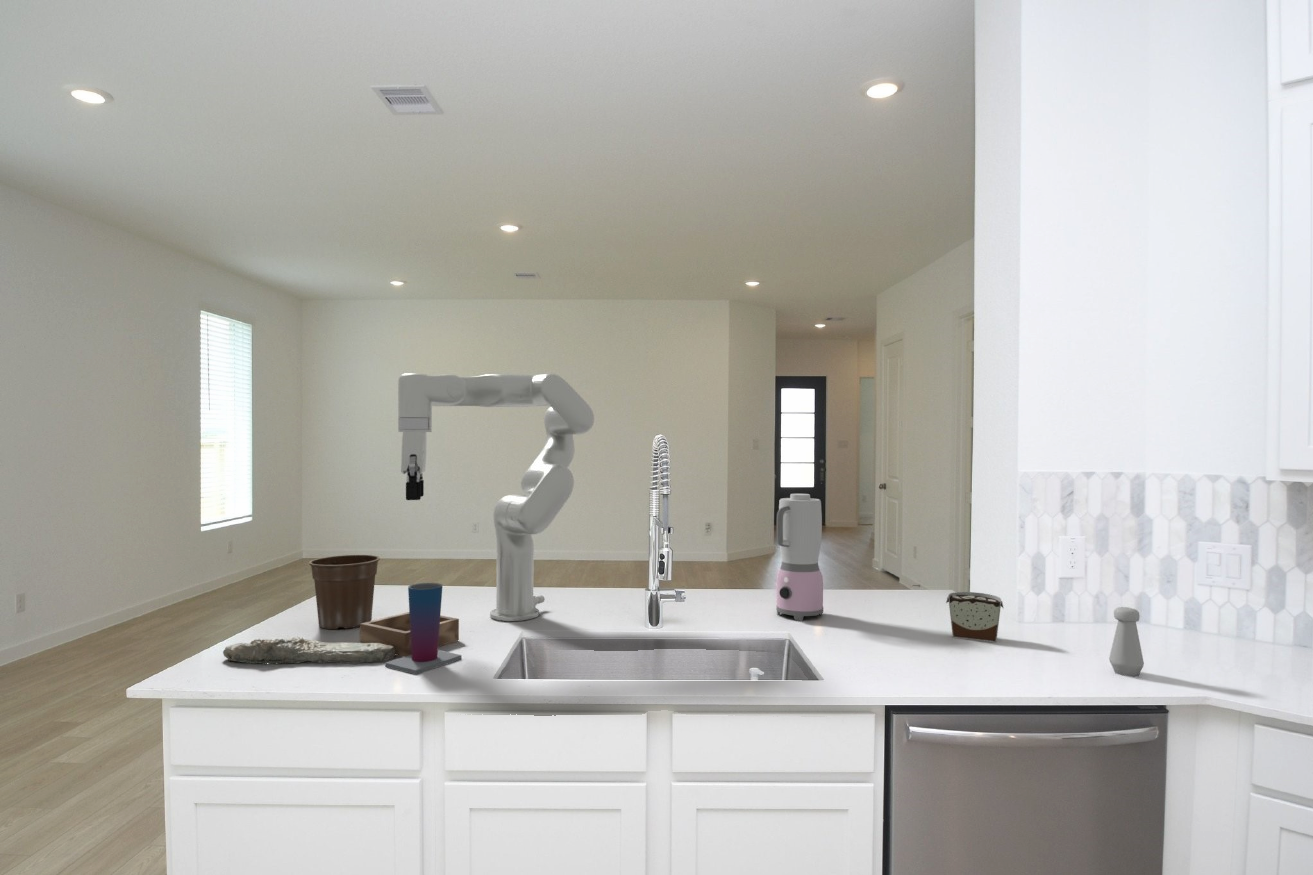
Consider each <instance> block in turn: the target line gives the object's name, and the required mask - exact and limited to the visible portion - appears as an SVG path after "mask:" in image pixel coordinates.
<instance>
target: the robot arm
mask: <svg viewBox="0 0 1313 875" xmlns="http://www.w3.org/2000/svg"><path fill="white" fill-rule="evenodd" d="M397 389H398V390H397V391H398V392H397V393H398V394H397V395H398V396H397V397H398V398H397V401H398V402H397V406H398V407H397V408H398V409H397V410H398V412H397V414H398V416H397V421H398V422H397V427H398V428H397V429H398V431H397V433H402V437H401V464H400V465H401V466H400V467H401V468H400V472H401V474H403V475H405V474H406V482H405V500H406V501H420V500H421V497H422V498H423V496H424V495H425V494H424V489H425V487H424V483H425V482H424V472H425V471H426V463H427V462H426V461H427V433H432V429H433V427H432V414H433V413H432V412H433V411H432V410H433V409H432V408H433V407H481V408H511V407H512V408H515V407H516V408H520V407H521V408H522V407H523V408H524V407H527V408H529V407H534V408H535V407H536V408H537V407H548V408H547V410H546V411H545V413H544V418H543V423H544V427H545V433H546V434H545V435H546V441H545V444H544V446H543V447H542V449H541V451H540V452H539V454H538V455H537V456H536V457H535V459H534V461H532V463H531V464H530V466H529V467H528V468H527V469H526V470H525V472H524V473H523V475H522V478H521V481H520V487H521V490H522V491H523V493H524V494H525V495H522V494H508V495H504V496H503V497H501V498H500V499H499V500H498V501H497V502H496V504H495V506H494V509H493V515H492V516H493V524H494V529H495V537H496V538H495V540H496V596H495V598H496V600H495V601H496V604H495V607H496V608H495V609H493V610H492V609H491V611H490V613H489V616H490V618H491V619H493V620H496V621H501V620H502V622H503V621H505V622H518V621H520V622H521V621H526V620H532V619H535V618H537V617H539V615H540V610H539V608H537V607H536V606H537V605H538V604H542V603H544V602H545V600H546V599H545V597H544V595H542V594H541V595H538V596H536V595H534V572H535V571H534V562H535V561H534V560H535V559H534V558H535V556H534V555H535V554H534V549H535V548H534V540H533V535H538V534H541V533H543V532H544V531H545V530H546V529H548V527H549V526H551V524H552V522H554V520H555V518H556V517H557V516H558V514H559V513H560V511H561V510H562V508H563V507H565V504H566V503H567V501H568V500H569V499H570V497H571V495H572V492H573V489H574V483H575V480H574V476H573V473H572V471H571V470H570V468H569V466H570V465H571V463H572V461H573V459H574V456H575V441H574V435H577V436H578V435H583V434H586V433H588V432H589V431H590V430H591V429H592V428H593V426H594V423H595V414H594V412H593V411H594V410H592V407H591V406H590V405H589V404H588V402H587V401H586V400H585V399H584V398H583V397H582V396H581V395H580V394H579V393H578V392H577V391H576V390H575V389H574V388H573V387H572V386H571V384H570V383H569V382H568V381H566V379H564V378H563V377H562V376H561V375H558V374H556V373H552V372H551V373H542V374H541V373H540V374H509V373H492V374H491V373H490V374H483V375H478V376H477V375H475V376H474V375H473V376H461V377H460V376H458V375H456V374H451V373H448V374H445V373H444V374H435V375H434V374H433V375H432V374H431V375H430V374H429V375H428V374H426V373H414V372H413V373H403V374H401V375H400V376H399V377H398V380H397Z"/></svg>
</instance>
